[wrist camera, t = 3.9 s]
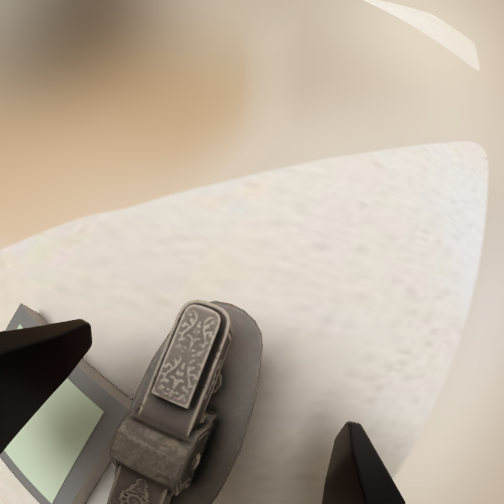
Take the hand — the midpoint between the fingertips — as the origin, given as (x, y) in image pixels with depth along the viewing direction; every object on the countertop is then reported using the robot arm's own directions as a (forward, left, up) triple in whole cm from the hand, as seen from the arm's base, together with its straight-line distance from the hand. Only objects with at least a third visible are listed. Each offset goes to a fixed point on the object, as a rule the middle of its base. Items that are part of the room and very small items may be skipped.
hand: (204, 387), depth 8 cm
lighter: (0, +1, -7) cm, 7 cm away
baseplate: (+8, +8, -7) cm, 14 cm away
